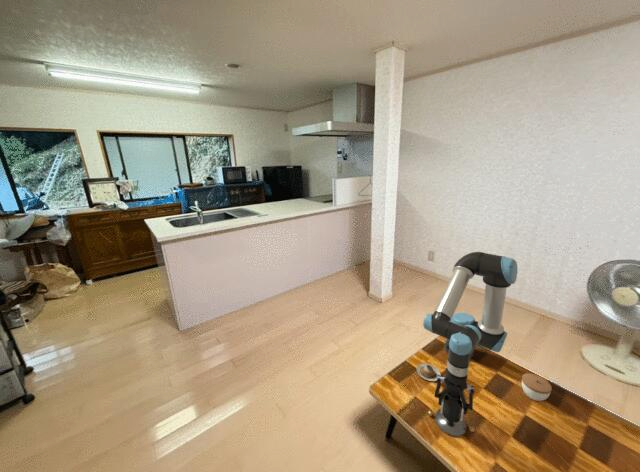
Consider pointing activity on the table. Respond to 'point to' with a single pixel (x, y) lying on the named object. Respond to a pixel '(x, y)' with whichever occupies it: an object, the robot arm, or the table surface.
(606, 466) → the table surface
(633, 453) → the table surface
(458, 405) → the supplement bottle
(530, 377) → the lidded jar
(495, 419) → the table surface
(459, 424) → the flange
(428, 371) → the grey ring with stone
